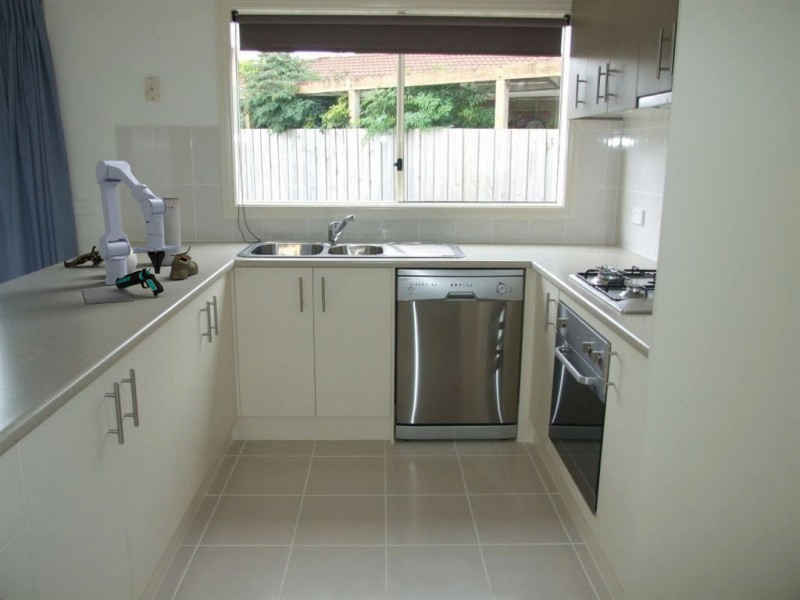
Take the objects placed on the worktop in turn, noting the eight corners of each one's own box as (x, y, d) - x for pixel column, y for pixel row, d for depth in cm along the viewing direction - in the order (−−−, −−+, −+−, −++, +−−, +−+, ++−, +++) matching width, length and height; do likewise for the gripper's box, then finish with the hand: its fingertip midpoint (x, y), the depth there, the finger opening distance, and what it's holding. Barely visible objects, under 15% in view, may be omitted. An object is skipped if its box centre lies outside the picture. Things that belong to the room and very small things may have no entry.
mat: (82, 290, 231) (82, 289, 231) (126, 287, 238) (125, 286, 238) (86, 304, 211) (86, 303, 211) (134, 300, 217) (133, 299, 217)
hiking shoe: (201, 272, 272) (200, 242, 270) (186, 281, 253) (184, 249, 250) (180, 271, 272) (178, 242, 270) (163, 280, 253) (161, 249, 250)
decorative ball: (139, 277, 257) (137, 246, 255) (105, 279, 252) (103, 247, 250) (137, 272, 268) (135, 242, 265) (104, 273, 263) (102, 243, 260)
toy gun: (127, 305, 235) (119, 277, 234) (166, 292, 225) (158, 263, 225) (120, 306, 232) (112, 278, 232) (159, 293, 222) (151, 264, 222)
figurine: (62, 255, 279) (106, 241, 284) (71, 274, 281) (114, 259, 286) (59, 257, 270) (105, 242, 275) (68, 276, 272) (113, 261, 277)
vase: (152, 262, 293) (146, 198, 287) (185, 260, 297) (179, 197, 291) (150, 267, 281) (144, 200, 275) (185, 265, 285) (179, 199, 279)
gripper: (133, 236, 221) (136, 276, 224) (179, 234, 227) (181, 274, 230) (131, 233, 227) (133, 273, 230) (175, 232, 233) (177, 270, 236)
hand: (157, 273), depth 230 cm, fingers closed
